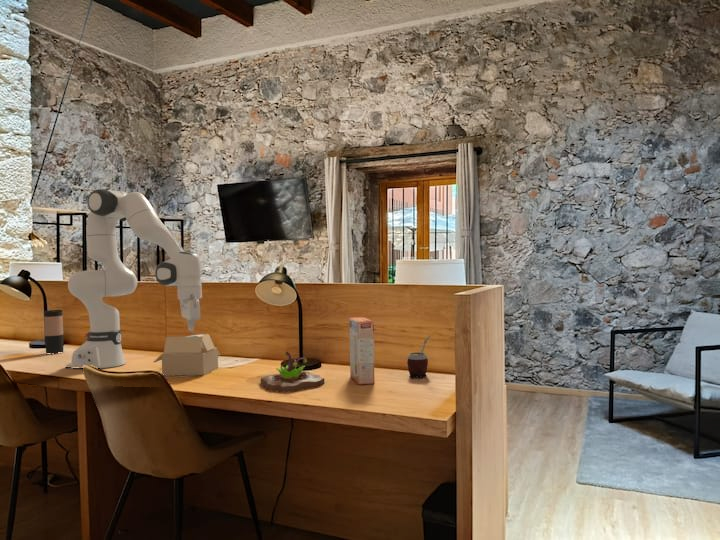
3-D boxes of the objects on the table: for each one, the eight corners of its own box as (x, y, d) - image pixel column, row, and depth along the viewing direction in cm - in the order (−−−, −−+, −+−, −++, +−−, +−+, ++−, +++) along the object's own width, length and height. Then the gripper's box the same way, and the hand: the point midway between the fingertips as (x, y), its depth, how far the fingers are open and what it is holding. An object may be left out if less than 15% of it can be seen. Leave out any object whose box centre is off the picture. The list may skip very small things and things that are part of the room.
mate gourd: (404, 375, 196) (403, 332, 195) (426, 373, 198) (425, 331, 197) (412, 380, 189) (411, 335, 188) (434, 378, 191) (433, 334, 190)
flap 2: (206, 351, 206) (199, 336, 207) (214, 348, 213) (207, 334, 214) (207, 350, 206) (200, 336, 207) (215, 347, 213) (208, 333, 213)
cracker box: (375, 384, 184) (374, 320, 183) (357, 385, 182) (356, 321, 182) (366, 375, 197) (365, 316, 197) (350, 376, 196) (348, 317, 196)
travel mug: (42, 353, 262) (41, 311, 262) (59, 351, 268) (58, 309, 268) (49, 355, 257) (47, 311, 257) (66, 352, 263) (65, 310, 263)
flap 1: (163, 352, 205) (166, 336, 207) (164, 352, 205) (166, 337, 208) (199, 352, 203) (202, 336, 205) (200, 352, 203) (202, 336, 206)
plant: (302, 376, 201) (301, 345, 201) (332, 385, 185) (331, 351, 185) (251, 384, 189) (250, 351, 189) (278, 395, 173) (277, 359, 173)
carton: (149, 375, 206) (148, 353, 206) (173, 365, 225) (172, 344, 225) (203, 375, 203) (202, 353, 203) (223, 365, 222) (222, 344, 222)
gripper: (203, 294, 204) (205, 332, 204) (193, 293, 222) (194, 327, 222) (186, 295, 201) (187, 334, 201) (177, 293, 219) (178, 329, 219)
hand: (191, 330), depth 212 cm, fingers closed
